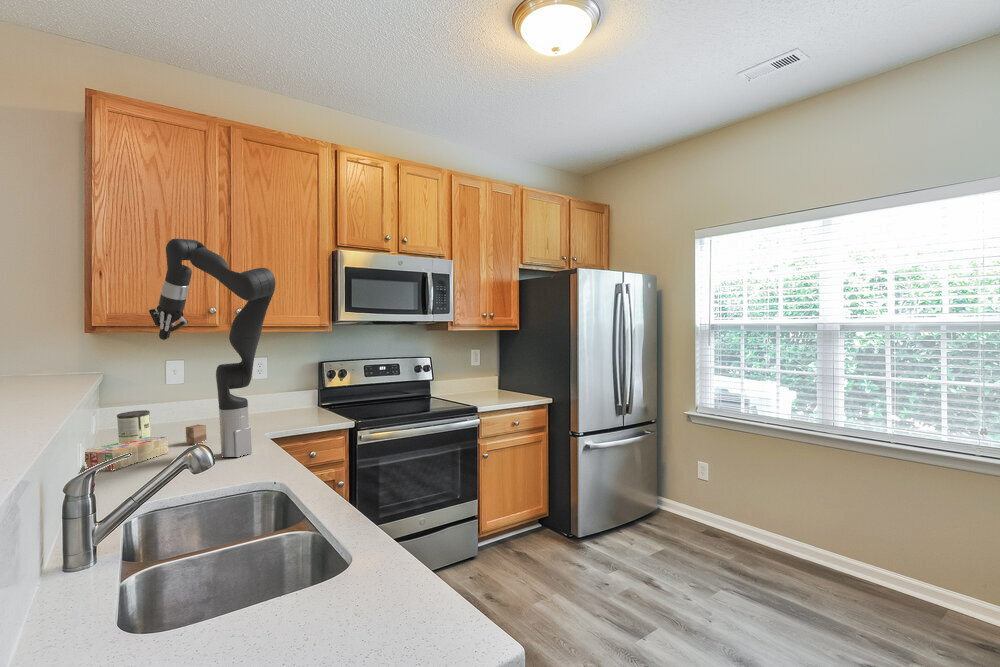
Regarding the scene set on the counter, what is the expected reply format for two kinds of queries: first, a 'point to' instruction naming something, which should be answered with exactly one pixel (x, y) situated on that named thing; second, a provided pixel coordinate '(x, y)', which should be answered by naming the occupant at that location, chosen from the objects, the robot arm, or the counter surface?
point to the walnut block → (195, 434)
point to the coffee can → (133, 425)
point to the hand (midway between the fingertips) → (163, 338)
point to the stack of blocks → (138, 448)
